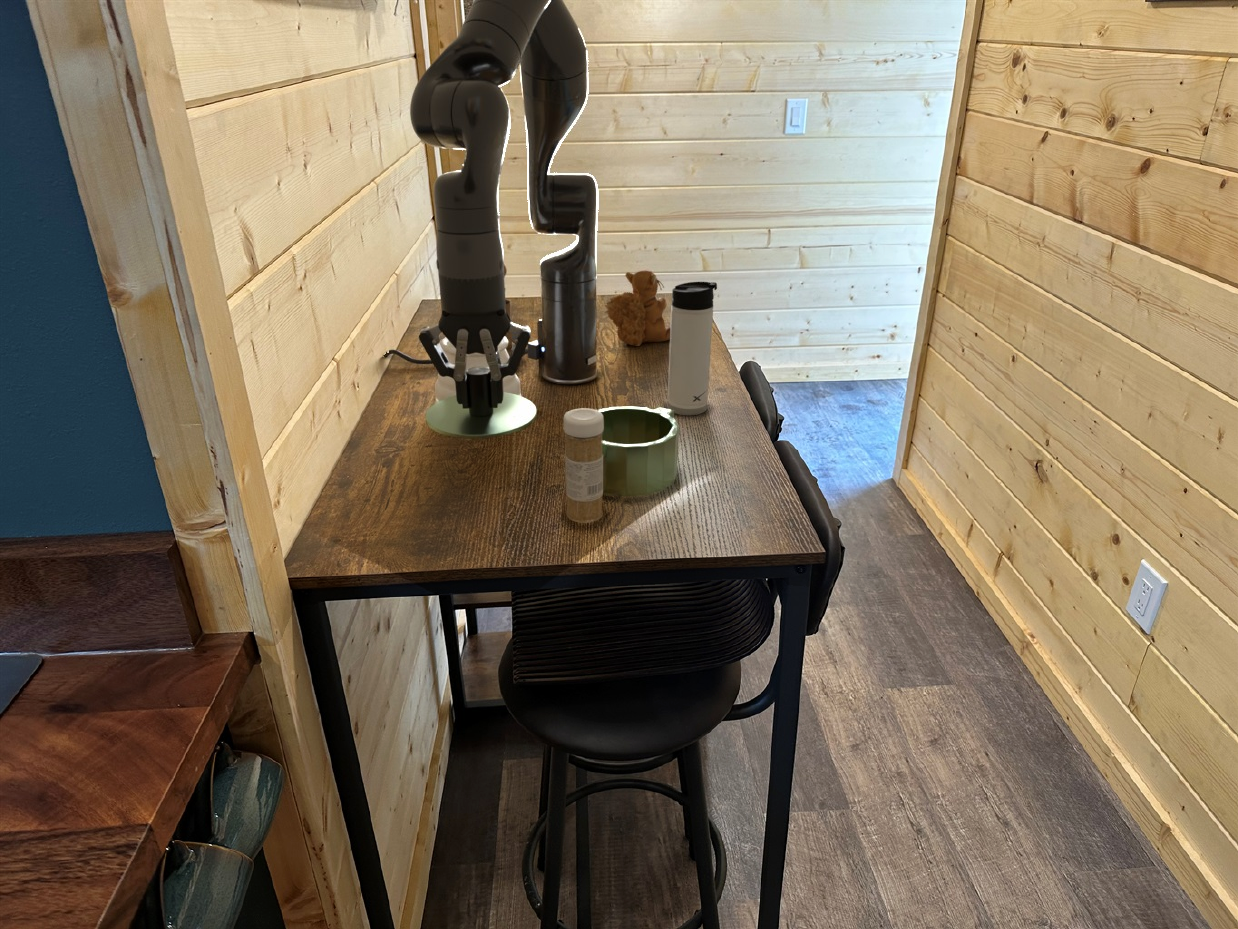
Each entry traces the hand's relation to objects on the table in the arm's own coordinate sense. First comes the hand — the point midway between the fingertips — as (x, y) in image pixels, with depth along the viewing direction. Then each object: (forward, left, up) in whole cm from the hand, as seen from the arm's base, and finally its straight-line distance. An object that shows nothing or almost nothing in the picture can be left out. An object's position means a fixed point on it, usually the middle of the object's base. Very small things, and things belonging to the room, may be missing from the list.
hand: (480, 405), depth 103 cm
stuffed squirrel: (-18, +61, -11) cm, 64 cm away
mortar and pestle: (-30, +35, -11) cm, 47 cm away
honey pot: (-16, +15, -11) cm, 24 cm away
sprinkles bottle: (+16, 0, -11) cm, 19 cm away
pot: (+14, +12, -10) cm, 21 cm away
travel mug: (+8, +37, -11) cm, 39 cm away
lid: (0, 0, -1) cm, 1 cm away
